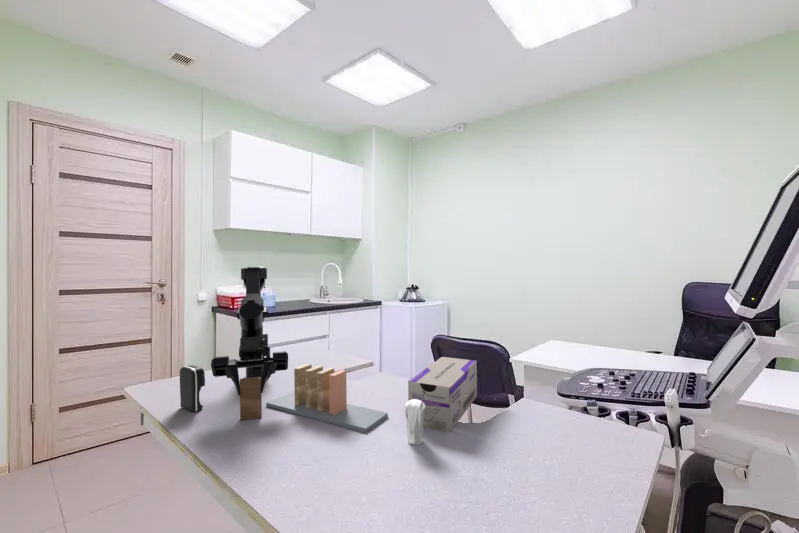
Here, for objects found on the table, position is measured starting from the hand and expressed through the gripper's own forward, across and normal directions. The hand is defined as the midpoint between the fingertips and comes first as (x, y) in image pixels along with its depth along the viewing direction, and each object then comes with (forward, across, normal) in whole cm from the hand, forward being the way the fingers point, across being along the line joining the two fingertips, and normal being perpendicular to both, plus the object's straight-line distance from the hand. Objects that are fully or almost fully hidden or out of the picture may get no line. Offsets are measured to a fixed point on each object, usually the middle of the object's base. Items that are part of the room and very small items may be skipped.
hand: (250, 393), depth 95 cm
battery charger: (-5, -15, +14) cm, 21 cm away
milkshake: (+22, +35, -12) cm, 43 cm away
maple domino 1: (+1, +13, +8) cm, 15 cm away
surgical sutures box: (+12, +49, -2) cm, 51 cm away
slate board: (+5, +18, +4) cm, 20 cm away
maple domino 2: (+3, +16, +5) cm, 17 cm away
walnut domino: (+4, 0, +6) cm, 7 cm away
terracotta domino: (+7, +21, +1) cm, 22 cm away
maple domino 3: (+5, +19, +3) cm, 20 cm away
